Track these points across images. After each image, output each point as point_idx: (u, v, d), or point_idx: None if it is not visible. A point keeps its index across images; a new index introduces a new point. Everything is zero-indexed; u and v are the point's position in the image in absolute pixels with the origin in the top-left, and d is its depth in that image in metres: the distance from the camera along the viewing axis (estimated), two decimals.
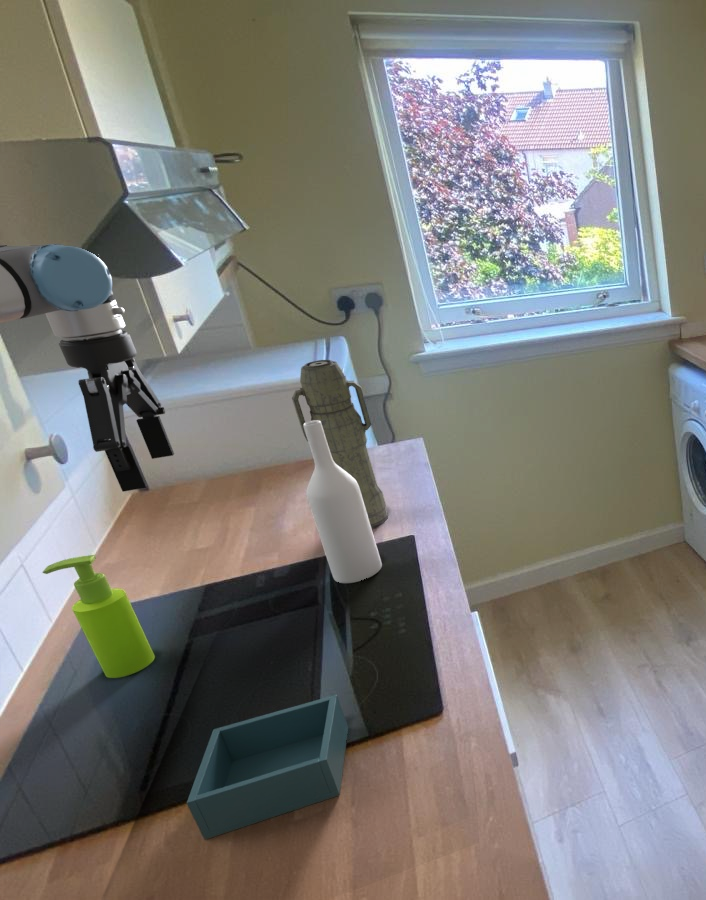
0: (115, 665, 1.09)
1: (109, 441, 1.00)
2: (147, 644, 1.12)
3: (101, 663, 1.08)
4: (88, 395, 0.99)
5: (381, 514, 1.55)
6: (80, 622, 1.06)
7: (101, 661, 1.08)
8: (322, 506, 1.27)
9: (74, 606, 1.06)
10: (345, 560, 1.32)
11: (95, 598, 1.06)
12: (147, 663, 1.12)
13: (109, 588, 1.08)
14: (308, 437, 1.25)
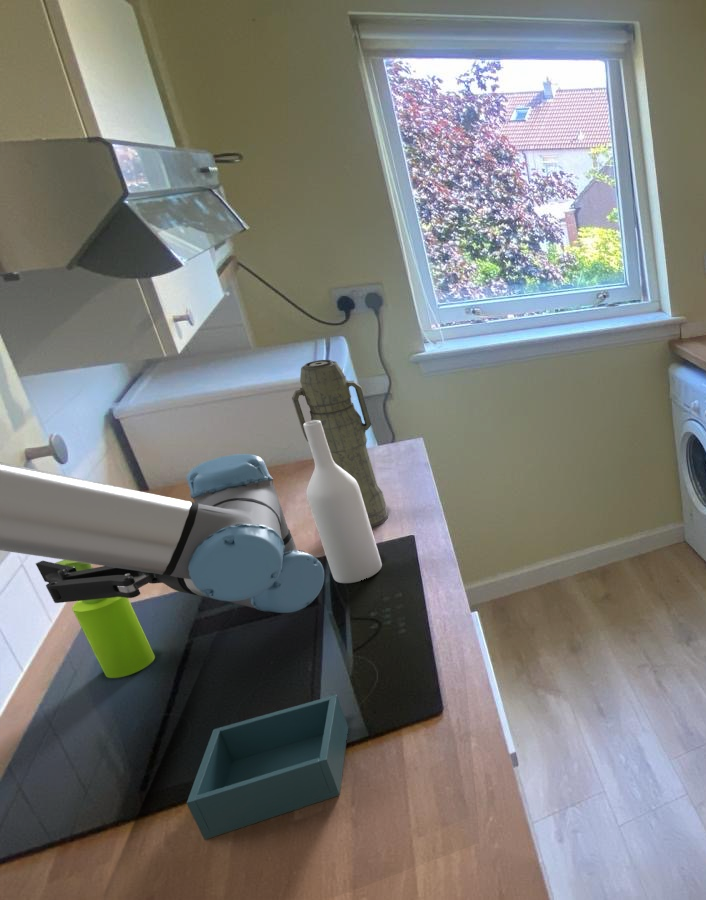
0: (115, 665, 1.09)
1: (57, 597, 0.89)
2: (147, 644, 1.12)
3: (101, 663, 1.08)
4: (113, 584, 0.89)
5: (381, 514, 1.55)
6: (80, 622, 1.06)
7: (101, 661, 1.08)
8: (322, 506, 1.27)
9: (74, 606, 1.06)
10: (345, 560, 1.32)
11: None
12: (147, 663, 1.12)
13: None
14: (308, 437, 1.25)
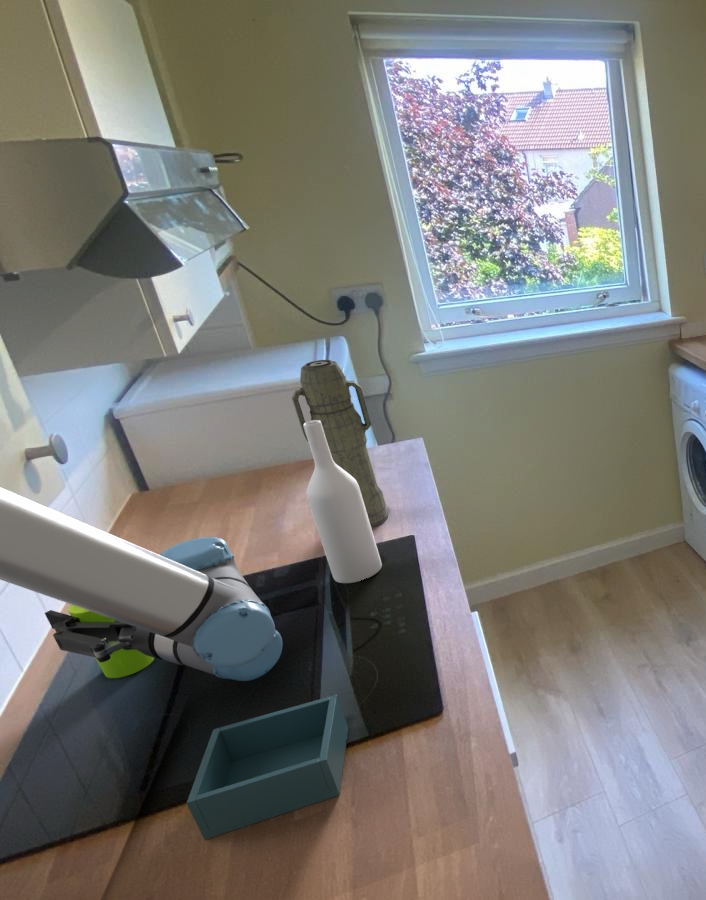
0: (114, 665, 1.08)
1: None
2: None
3: (100, 664, 1.08)
4: (90, 646, 0.99)
5: (381, 514, 1.55)
6: None
7: (100, 662, 1.08)
8: (322, 506, 1.27)
9: (70, 608, 1.05)
10: (345, 560, 1.32)
11: None
12: (146, 662, 1.12)
13: None
14: (308, 437, 1.25)
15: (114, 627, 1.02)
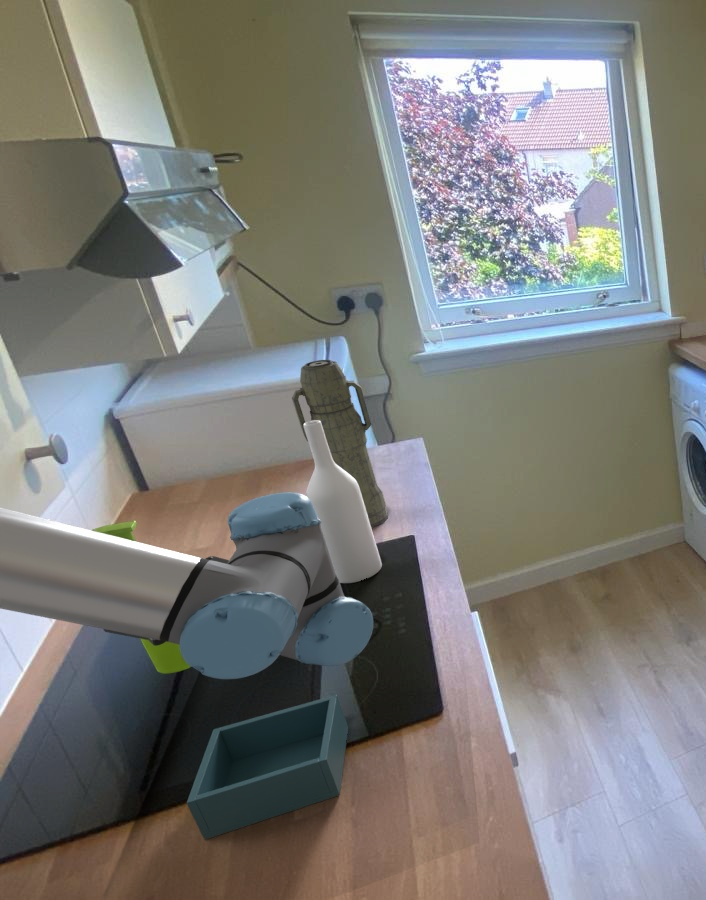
0: (164, 651, 0.92)
1: None
2: None
3: (148, 649, 0.91)
4: None
5: (381, 514, 1.55)
6: None
7: (148, 647, 0.91)
8: (322, 506, 1.27)
9: None
10: (345, 560, 1.32)
11: None
12: None
13: None
14: (308, 437, 1.25)
15: None
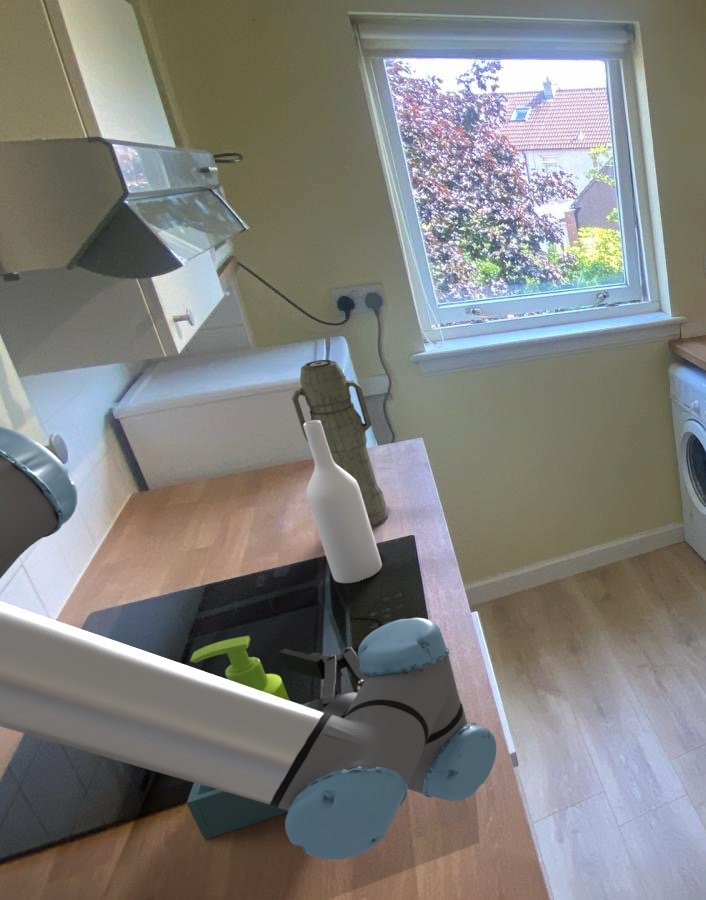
0: None
1: None
2: None
3: None
4: None
5: (381, 514, 1.55)
6: None
7: None
8: (322, 506, 1.27)
9: None
10: (345, 560, 1.32)
11: None
12: None
13: (265, 676, 0.87)
14: (308, 437, 1.25)
15: None
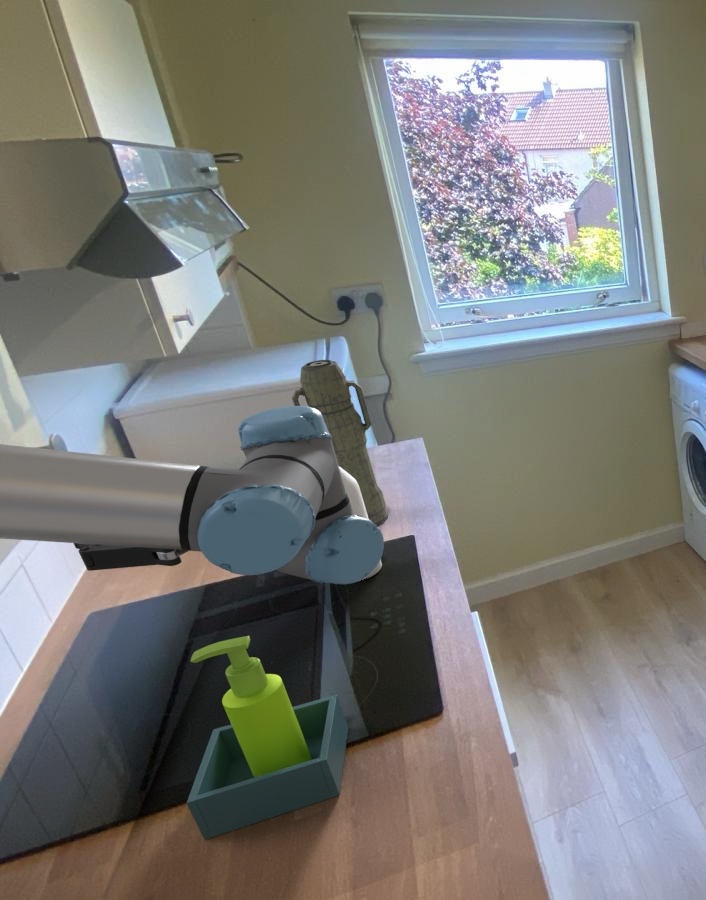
0: (270, 770, 0.88)
1: (91, 564, 0.80)
2: (303, 740, 0.91)
3: (253, 768, 0.88)
4: (152, 550, 0.80)
5: (381, 514, 1.55)
6: (232, 720, 0.85)
7: (253, 765, 0.87)
8: None
9: (224, 700, 0.85)
10: None
11: (250, 690, 0.85)
12: None
13: (265, 676, 0.87)
14: None
15: None
